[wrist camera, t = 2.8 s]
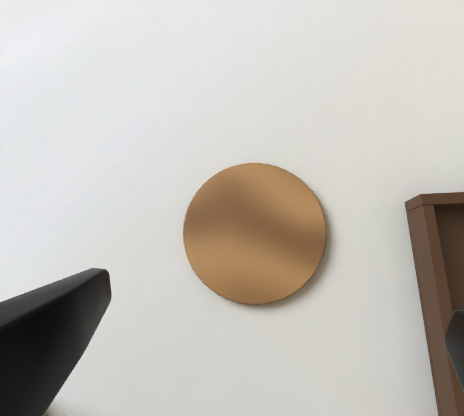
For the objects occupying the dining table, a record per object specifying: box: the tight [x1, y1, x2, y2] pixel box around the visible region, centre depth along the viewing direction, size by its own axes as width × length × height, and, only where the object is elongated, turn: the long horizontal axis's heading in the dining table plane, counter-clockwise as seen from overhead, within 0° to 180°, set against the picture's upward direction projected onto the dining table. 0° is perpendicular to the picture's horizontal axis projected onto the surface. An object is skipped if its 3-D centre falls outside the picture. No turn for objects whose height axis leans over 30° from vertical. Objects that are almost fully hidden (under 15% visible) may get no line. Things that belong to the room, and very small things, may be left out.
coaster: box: [183, 163, 326, 305], centre depth 24 cm, size 11×11×1 cm
